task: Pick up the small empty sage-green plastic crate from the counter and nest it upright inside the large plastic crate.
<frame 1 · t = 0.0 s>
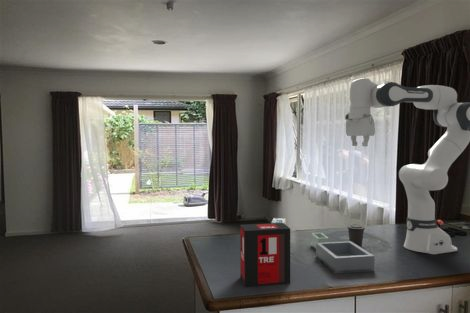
hand: (359, 146, 161), 48 cm above the kitchen counter, tool pointing down, fingers open, 8 cm apart
large crate: (343, 263, 148), on the kitchen counter
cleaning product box: (264, 281, 132), on the kitchen counter
light bulb box: (278, 241, 181), on the kitchen counter
coffee cup: (355, 246, 171), on the kitchen counter
small crate: (319, 248, 169), on the kitchen counter
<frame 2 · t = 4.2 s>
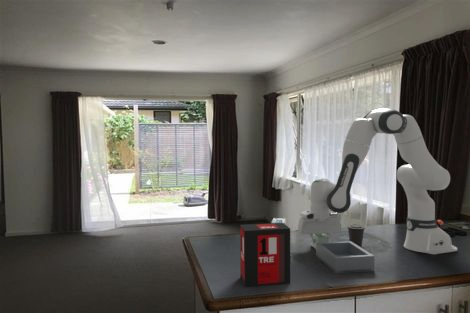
hand: (319, 242, 169), 3 cm above the kitchen counter, tool pointing down, fingers closed on small crate, 5 cm apart
small crate: (319, 248, 169), on the kitchen counter, touching gripper
everything else where it was.
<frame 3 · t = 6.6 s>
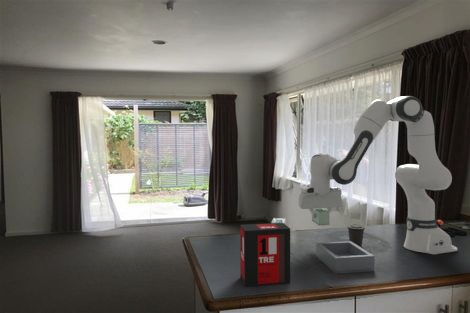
hand: (320, 217, 168), 15 cm above the kitchen counter, tool pointing down, fingers closed on small crate, 5 cm apart
small crate: (320, 222, 168), point 12 cm above the kitchen counter, touching gripper
everything else where it was.
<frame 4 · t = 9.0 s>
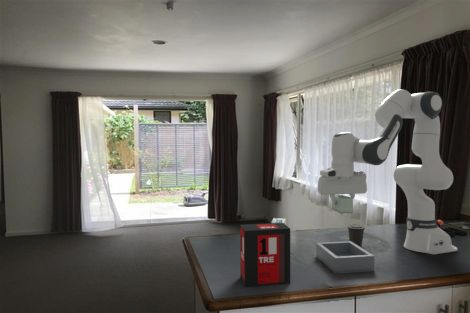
hand: (342, 204, 148), 24 cm above the kitchen counter, tool pointing down, fingers closed on small crate, 5 cm apart
small crate: (342, 211, 149), point 22 cm above the kitchen counter, touching gripper
everything else where it was.
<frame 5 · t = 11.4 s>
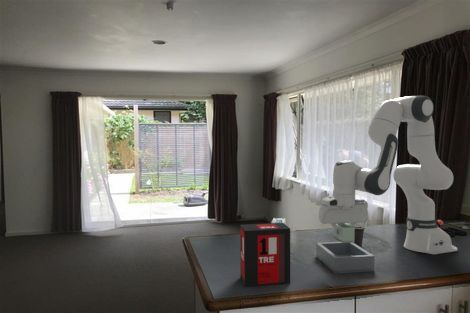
hand: (343, 233, 148), 13 cm above the kitchen counter, tool pointing down, fingers closed on small crate, 5 cm apart
small crate: (343, 239, 148), point 10 cm above the kitchen counter, touching gripper
everything else where it was.
when the fingers open (5 cm above the kitchen counter, at t = 13.7 s): small crate drops 1 cm, resting on large crate.
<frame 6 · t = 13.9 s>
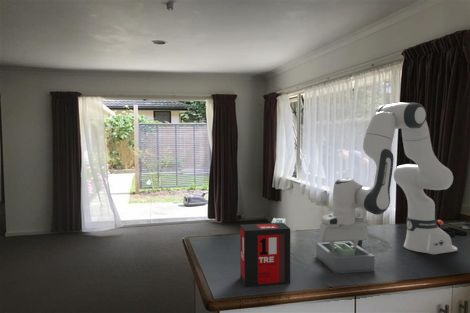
hand: (343, 251, 148), 5 cm above the kitchen counter, tool pointing down, fingers open, 7 cm apart
small crate: (343, 260, 148), point 1 cm above the kitchen counter, touching large crate
everything else where it was.
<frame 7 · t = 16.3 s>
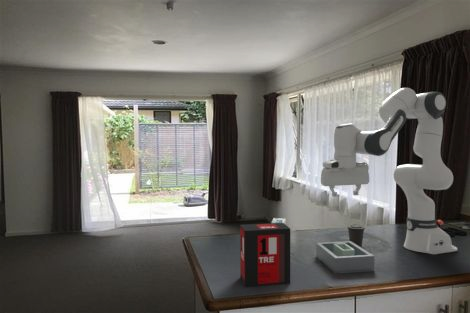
hand: (345, 195, 150), 28 cm above the kitchen counter, tool pointing down, fingers open, 8 cm apart
nothing on the kitchen counter moved.
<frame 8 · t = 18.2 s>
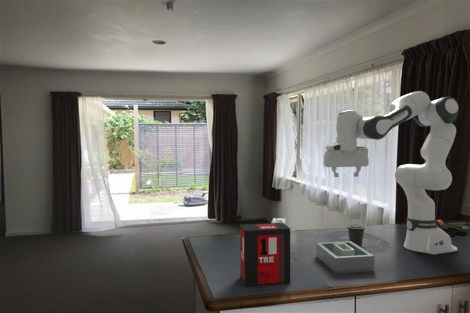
hand: (346, 176, 163), 34 cm above the kitchen counter, tool pointing down, fingers open, 8 cm apart
nothing on the kitchen counter moved.
at the end: small crate inside the target area on the large crate (0.1 cm from its centre), point 1.0 cm above the large crate's base; small crate tilted 0°; the gripper is holding nothing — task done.
